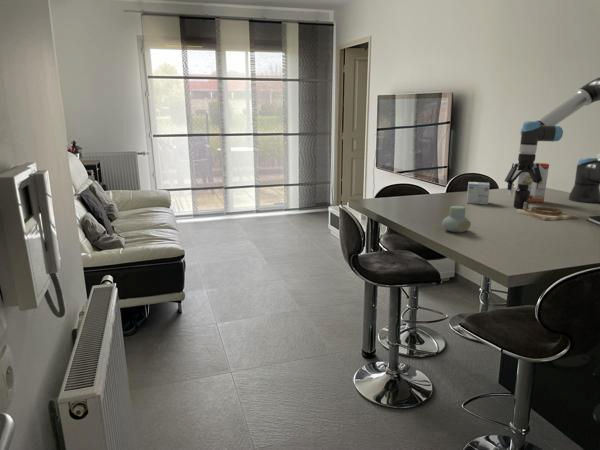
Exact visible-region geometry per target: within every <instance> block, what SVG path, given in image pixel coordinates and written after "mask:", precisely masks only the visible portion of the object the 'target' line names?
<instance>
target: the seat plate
mask: <svg viewBox="0 0 600 450" xmlns="http://www.w3.org/2000/svg"><path fill="white" fill-rule="evenodd" d="M527 204H528V202H524V206H523V209H519V208H516V213H519V214H522V215H525V216H529V217H532V218H535V219H538V220H542V221H555V220H569V219H572V218H574V219H578V215H576V214H573V213H568V212H565V211H563V210H562V209H559V208H556V207H550V206H533V207H531V208H527ZM528 205H529V204H528ZM572 220H573V219H572Z"/></svg>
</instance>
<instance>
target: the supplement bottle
mask: <svg viewBox="0 0 600 450" xmlns="http://www.w3.org/2000/svg"><path fill="white" fill-rule="evenodd" d="M528 188H529V185H528V184H518V189H516V191H515V190H514V196H515V197H513V198H514V199H513V208H515V209H523V206H524V202H528V204H527V209H529V203H530V202H529V197H530V191H529V190H528Z"/></svg>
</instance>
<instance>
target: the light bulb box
mask: <svg viewBox="0 0 600 450" xmlns="http://www.w3.org/2000/svg"><path fill="white" fill-rule="evenodd" d="M466 194H467V195H466V204H473V205H474V204H475V205H476V204H477V205H488V204H489V196H490V182H480V181H479V182H477V181H468V185H467V193H466Z"/></svg>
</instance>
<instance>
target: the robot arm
mask: <svg viewBox="0 0 600 450" xmlns="http://www.w3.org/2000/svg"><path fill="white" fill-rule="evenodd" d="M599 101H600V76H599V77H597V78H595V79H593V80H591V81H589V82H587V83H586V84H584V85H583V86H581V87H580V88H578V89H577V90H576V91H575V94H573V95H572V96H570V97H569V98H567V99H566V100H565V101H563V102H562V103H560V104H559V105H557V106H556V107H554V108H553V109H551V110H550V111H549V112H547V113H546V114H544V115H543V116H541V117H540V118H538V119H537V120H534V121H532V120H530V121H529V120H527V121H524V122H523V124H522V127H521V129H520V142H519V151H518V152H519V153H518V158H517V161H518V163H516V162H513V163H512V165H511V168H510V170H509V172H508V173H507V175H506V176H505V179H504V182H506V183H507V196H508V197H511V198H512V197H513V194H514V187H515V183H514V182H516V181H517V177H518V176H519V175H520V174H521V173H522V172H528V173H529V174H530V176H531V178H532V180H533V181H534V182H532V186H531V193H530V195H533V196H535V195H536V189H537V187H538V183H540V181H542V177H541V173H540V170H539V163H540V162H535V161H536V156H537V155H536V153H537V148H538V142H558V141H560V140H561V139H562V138H563V134H564V131H563V127H562V126H560V125H558V124H559V123H561V122H562V121H564V120H565V119H566V118H568V117H570V116H571V115H574V113H576V112H577V111H579V110H580V109H581V108H583V107H585V106H590V105H591V104H593V103H596V102H599ZM534 162H535V163H534ZM533 168H534V170H533ZM534 172H535V173H534ZM568 200H570V201H573V202H581V203H589V204H590V203H591V204H594V203H600V156H599V157H591V158H590V157H589V158H588V157H587V158H586V157H585V158H583V157H582V158H579V159H578V161H577V165H576V171H575V178H574V184H573V187H572V189H571V191H570V193H569V195H568Z"/></svg>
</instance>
